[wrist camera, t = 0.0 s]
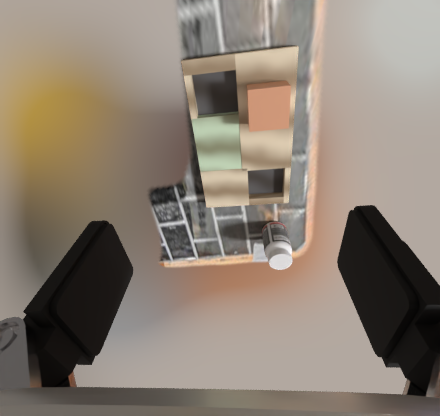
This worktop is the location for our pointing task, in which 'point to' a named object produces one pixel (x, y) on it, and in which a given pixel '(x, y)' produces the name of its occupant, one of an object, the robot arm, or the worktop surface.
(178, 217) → the worktop surface
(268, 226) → the pill bottle
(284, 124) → the block
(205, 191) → the board
